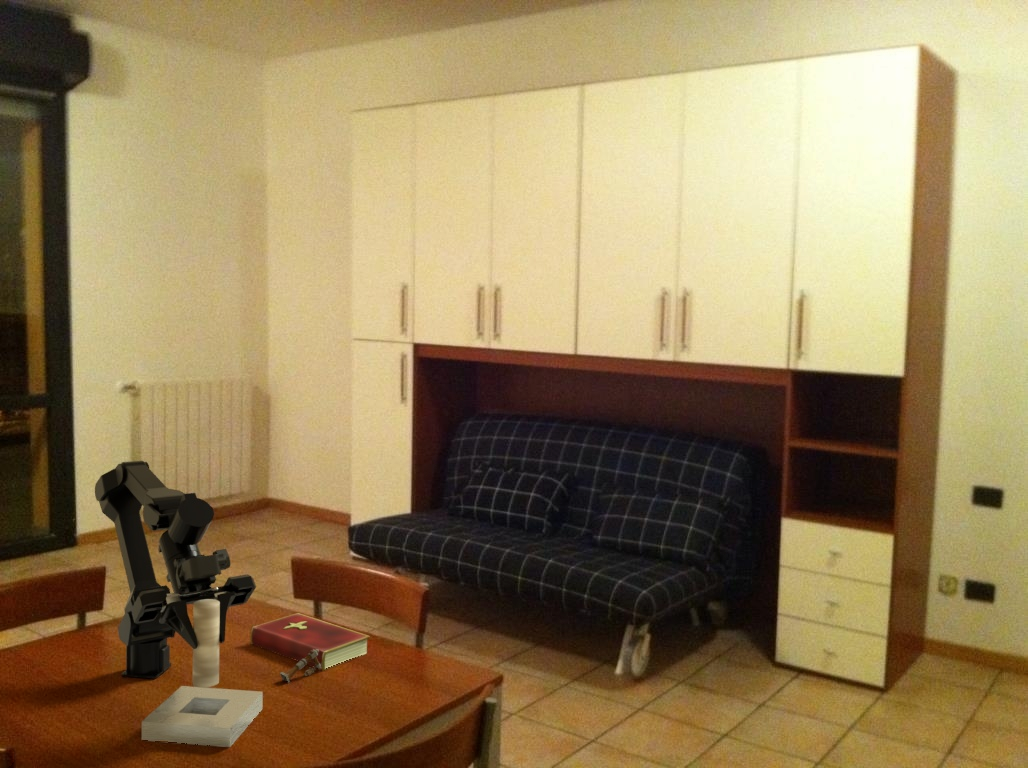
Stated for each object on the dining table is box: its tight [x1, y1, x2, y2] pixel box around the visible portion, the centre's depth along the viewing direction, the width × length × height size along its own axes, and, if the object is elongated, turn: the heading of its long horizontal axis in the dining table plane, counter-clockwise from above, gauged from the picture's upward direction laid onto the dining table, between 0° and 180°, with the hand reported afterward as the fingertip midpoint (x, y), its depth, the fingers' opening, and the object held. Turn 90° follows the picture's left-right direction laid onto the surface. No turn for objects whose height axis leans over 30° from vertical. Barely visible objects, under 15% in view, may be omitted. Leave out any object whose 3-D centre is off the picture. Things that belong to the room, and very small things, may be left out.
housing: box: [141, 685, 264, 748], centre depth 153 cm, size 14×14×3 cm
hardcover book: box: [250, 612, 371, 671], centre depth 187 cm, size 12×21×4 cm, turn 53°
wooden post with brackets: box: [279, 649, 322, 684], centre depth 174 cm, size 2×8×4 cm, turn 136°
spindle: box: [192, 599, 220, 688], centre depth 152 cm, size 4×4×13 cm
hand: (209, 644), depth 151 cm, fingers closed on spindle, 4 cm apart
